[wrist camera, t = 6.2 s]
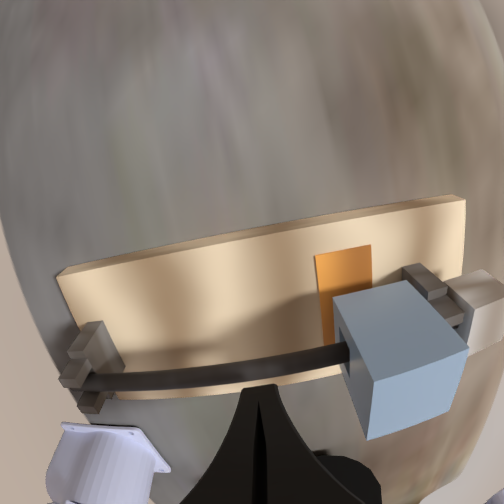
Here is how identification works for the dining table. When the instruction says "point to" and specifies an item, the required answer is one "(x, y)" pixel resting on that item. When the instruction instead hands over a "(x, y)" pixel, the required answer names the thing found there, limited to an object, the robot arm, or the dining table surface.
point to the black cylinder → (354, 477)
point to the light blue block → (397, 357)
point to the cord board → (263, 301)
